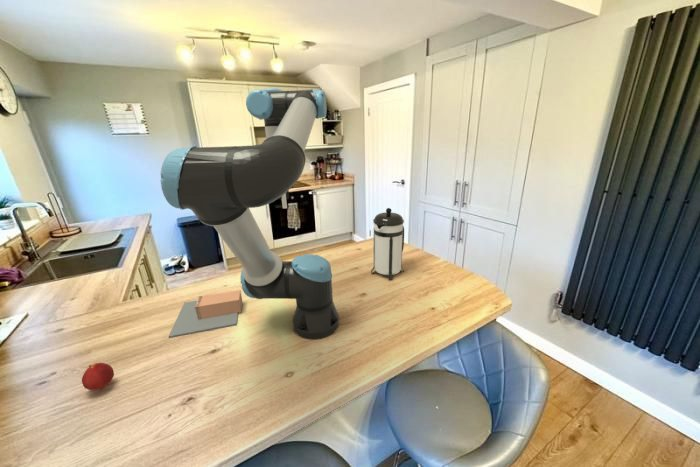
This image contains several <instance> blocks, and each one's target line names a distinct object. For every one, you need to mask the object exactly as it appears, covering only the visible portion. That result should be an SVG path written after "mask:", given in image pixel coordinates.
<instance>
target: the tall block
mask: <svg viewBox="0 0 700 467" xmlns="http://www.w3.org/2000/svg"><path fill="white" fill-rule="evenodd" d="M196 301H197V303H196V305H195V310H196V314H197V319H198V320H199V319H205V318H210V317H216V316H222V315H227V314H233V313H238V314H239V313H242V307H243V298H242V290H241V289H239V290H238V289H236V290H232V291H231V290H230V291H226V292H219V293H213V294H208V295H200V296H198V298H197V300H196Z"/></svg>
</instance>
